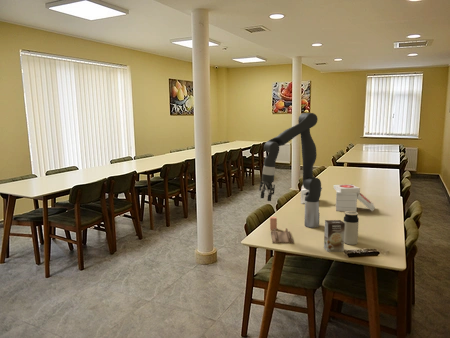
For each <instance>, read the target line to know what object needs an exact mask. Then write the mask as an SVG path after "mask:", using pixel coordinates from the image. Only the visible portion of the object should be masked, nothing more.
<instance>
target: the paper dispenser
mask: <svg viewBox="0 0 450 338" xmlns="http://www.w3.org/2000/svg"><path fill="white" fill-rule="evenodd" d="M333 189H334V190H335V193H336V194H335V211H336V212H344V213H345V212H346V211H355V212H357V208H358V207H357V206H358V205H357V204H358V201H359V202H360V203H362V204H363V206H365V207H367V209H369V210H370V211H371V212H373V211H374V210H375V209H376V206H375V205H374V202H372V201H371V200H370V199H368V197H366V196H365V195H364V194H362V192H361V187H358V186H356V185H354V184H333Z"/></svg>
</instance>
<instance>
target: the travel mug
mask: <svg viewBox="0 0 450 338" xmlns="http://www.w3.org/2000/svg"><path fill="white" fill-rule="evenodd" d="M358 215H359V212H357V211H356V212H355V211H346V212H345V211H344V217H343V222H344V223H345V231H344V244H347V245H351V246H352V245H354V246H355V245H357V244H358V243H359V221H360V219H359V217H358Z"/></svg>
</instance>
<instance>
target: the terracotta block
mask: <svg viewBox="0 0 450 338" xmlns="http://www.w3.org/2000/svg"><path fill="white" fill-rule="evenodd" d="M277 220H278V219H277V216H270V217H269V221H270V223H269V230H270V231H274V228H275V229H276V231H278V230H277V229H278V228H277V227H278V226H277V225H278V223H277V222H278V221H277Z"/></svg>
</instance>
